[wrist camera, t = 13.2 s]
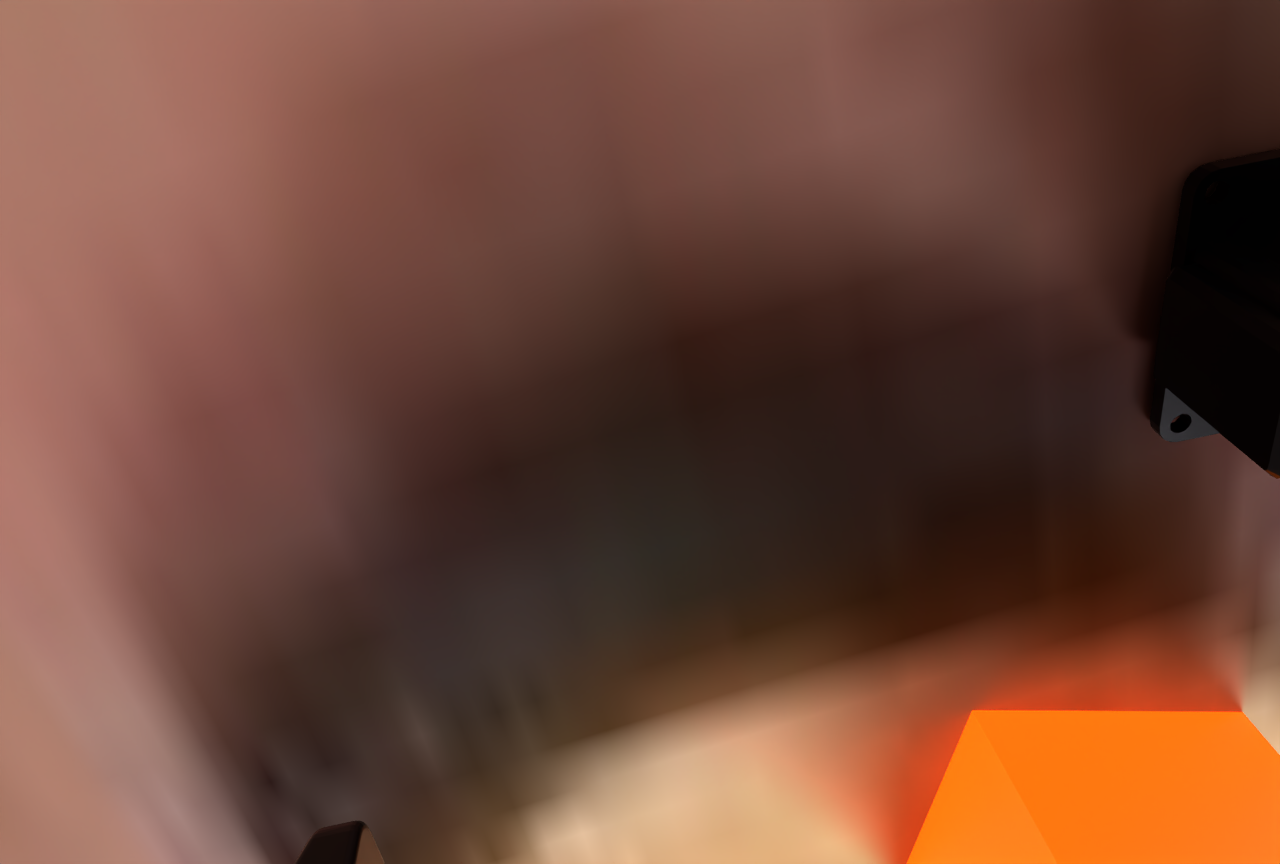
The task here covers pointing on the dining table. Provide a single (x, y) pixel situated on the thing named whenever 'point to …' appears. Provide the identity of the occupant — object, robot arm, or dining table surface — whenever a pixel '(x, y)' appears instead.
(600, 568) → the dining table surface
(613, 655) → the dining table surface
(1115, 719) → the orange juice
